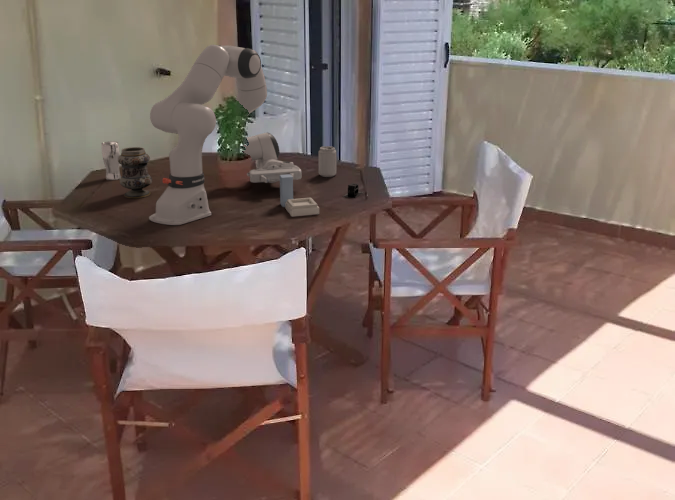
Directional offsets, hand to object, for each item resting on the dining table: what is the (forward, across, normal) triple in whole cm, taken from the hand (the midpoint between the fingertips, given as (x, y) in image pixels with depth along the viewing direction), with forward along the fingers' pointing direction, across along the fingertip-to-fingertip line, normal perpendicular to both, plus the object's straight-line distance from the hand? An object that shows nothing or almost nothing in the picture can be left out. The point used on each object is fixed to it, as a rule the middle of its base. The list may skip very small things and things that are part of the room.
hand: (279, 179), depth 282 cm
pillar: (+12, 0, +7) cm, 14 cm away
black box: (+6, +28, +7) cm, 29 cm away
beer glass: (-46, -61, +7) cm, 77 cm away
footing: (+21, +4, +6) cm, 22 cm away
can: (-26, +26, +7) cm, 37 cm away
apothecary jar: (-18, -52, +7) cm, 56 cm away
